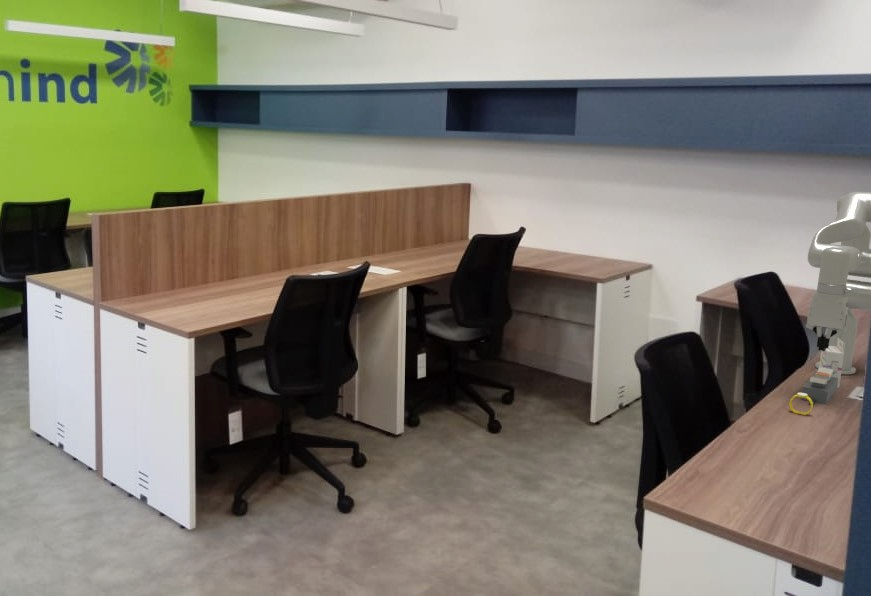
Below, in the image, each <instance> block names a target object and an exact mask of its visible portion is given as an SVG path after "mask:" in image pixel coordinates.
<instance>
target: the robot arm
mask: <svg viewBox="0 0 871 596" xmlns="http://www.w3.org/2000/svg"><path fill="white" fill-rule="evenodd" d="M836 212H837V215H836V218H835V220H834V221H832V222H830V223H829V224H827V225H824V227H822V228H820V229H819V230H817V232H816V233H815V234H814V235H813V238H812V240H811V244H810V247H809V249H808V252H807V253H808V254H807V261H808V264H809V265H810V266H811V267H812V268H817V269H819V273H818V280H817V281H818V282H817V287H816V288H817V289H816V291H814V292H813V295H812V298H811V300H810V304H809V309H808V314H807V319H806V324H805V328H806V329H809V330H812V331H813V332H814V333H815V335H816V336H817V340H816V341H817V343H816V348H817V349H818V351H820V352H821V350H822V351H825V350H826V348H827V349H828V347H829V346H836V347H837V338H839V339H840V340H841V341H842V342H843V343H844V344H845V347H844V359H843V366H842V372H841V375H855V373H856V372H857V368H855V367H854V366H852V365H853V359H854V358H853V357H854V352H855V344H856V338H857V332H858V328H859V327H858V326H859V321H858V320H859V319H858V317H857V315H856V314H855V312H854V311H853V310H860V311H861V310H862V311H868V312H871V282H870V281H863V280H862V281H861V280H857V279H849V278H848V276H853V277H861V278H868V279H871V248H870V245H871V244H870V242H871V230H870V229H869V227H868V226H867V223H871V192H868V191H851V192H849V193H846V194H845V195H842V196H840V197H839V198H838V200H837V201H836ZM840 242H841V243H840ZM835 243H840V244H835ZM824 328H825V331H824ZM840 346H841V347H842V345H841V344H840ZM819 364H820V361H817V362H815V364H814V366H815V368H816V369H817V370H818V369H819Z"/></svg>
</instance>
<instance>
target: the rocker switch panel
mask: <svg viewBox="0 0 871 596" xmlns="http://www.w3.org/2000/svg"><path fill="white" fill-rule="evenodd" d="M815 375H816V373H813V374H812V376H811V377H815ZM837 383H838V378H835V377H831V378H830V380H829V381H827V384H820V383H815V382H810V378H809V379H808V380H807V381H806V382H805V383H804V384H803V386H802V387H801V393H806V394H807V395H808V397H809V398H810V399H811V400H812V402H813V405H814V404H815V403H817V404H822V405H827V404H828V403H829V401H830V400H831V398H833V396H834V394H835V393H836V392H835V391H837V389H838V388H837ZM800 400H801V401H802V400H803V401H806V400H808V399H806V398H802V397H800ZM808 406H811V404H810V402H809V400H808Z"/></svg>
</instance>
